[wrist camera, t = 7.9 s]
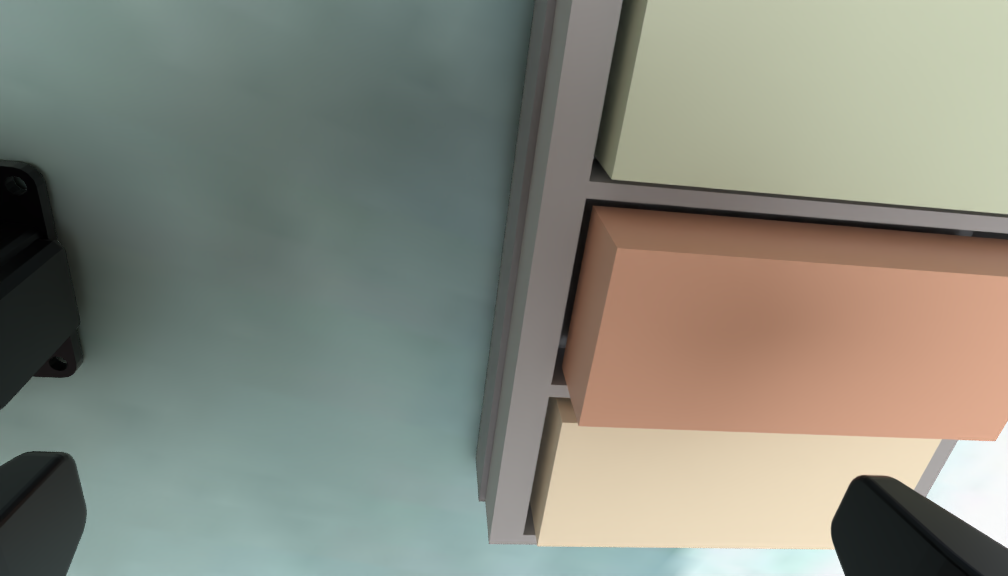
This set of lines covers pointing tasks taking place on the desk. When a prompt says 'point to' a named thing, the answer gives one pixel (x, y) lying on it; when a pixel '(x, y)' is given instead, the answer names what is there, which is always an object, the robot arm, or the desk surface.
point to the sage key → (813, 99)
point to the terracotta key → (787, 328)
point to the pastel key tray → (562, 236)
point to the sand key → (701, 484)
